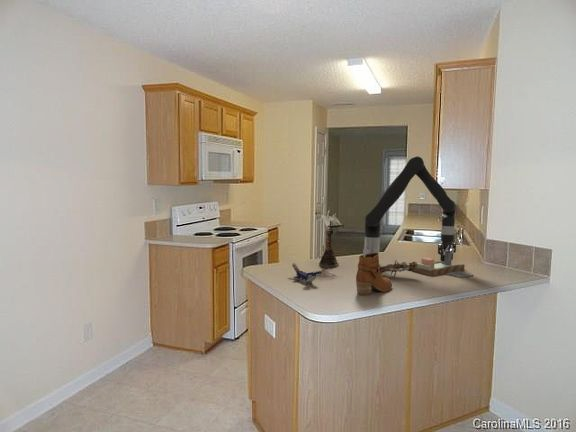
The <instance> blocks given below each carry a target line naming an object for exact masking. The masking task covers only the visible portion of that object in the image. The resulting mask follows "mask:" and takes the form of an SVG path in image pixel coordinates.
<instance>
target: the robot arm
mask: <svg viewBox="0 0 576 432" xmlns="http://www.w3.org/2000/svg"><path fill="white" fill-rule="evenodd" d="M415 176H417V178H419V179H420V180H421V181H422V183H423V185H424V186H425V187H426V188H427V190H428V192H429V193H430V194H431V195H432V196H433V198H434V199H435V200H436V201H437V203H438V205H439V206H440V208H441V209H442V217H441V229H440V241H441V243H438V244H437V254H438V255H440V260H439V261H443V262H444V259H445V252H447V251H451V252H452V260H451V261H453V260H454V254H455V253H456V251H457V242H454V241H455V230H456V229H455V222H456V221H455V219H456V218H455V217H456V210H457V209H456V207H457V206H456V202H455V201H454V200H452V199H451V198H450V196H448V194H447V192H446V191H445V189H444V188H443V186H442V185H441V184H440V182H438V181H437V179H435V178H434V177H433V176H432V175H431V173H430V172H429V170H428V169H427V167H426V165H425V162H424V160H423V158H422V157H421V156H418V155H416V156H412V157H410V158H409V159H408V161H407V163H406V164H405V166H404V167H403V169H402V171H401V172H400V173H399V174H398V175H397V176H396V177H395V179H393V181H392V182H391V183H390V184H389V185H388V187H387V188H386V189H385V191H384V192H383V194H382V195H381V197H380V198H379V201H378V202H377V204H376V205H375V206H374V207H373V208H372V209H371V210H370V211H369V212H367V213H366V215H365V217H364V218H365V219H364V221H365V223H364V248H363V249H362V250H363V251H362V253H363V254H362V255H363V256H364V257H365V255H366V254H370V253H378V259H379V260H380V239H381V237H380V236H381V234H380V233H381V232H380V231H381V220H382V219H383V218H384V217H385V214H386V213H387V211H389V209H390V208H391V207H392V206H394V204H395V203H396V202H397V201H398V200H399V199H400V197H401V196H402V195H403V193H404V192H405V190H406V188H407V187H408V185H409V183H410V182H411V180H412V179H413V178H414V177H415Z"/></svg>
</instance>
